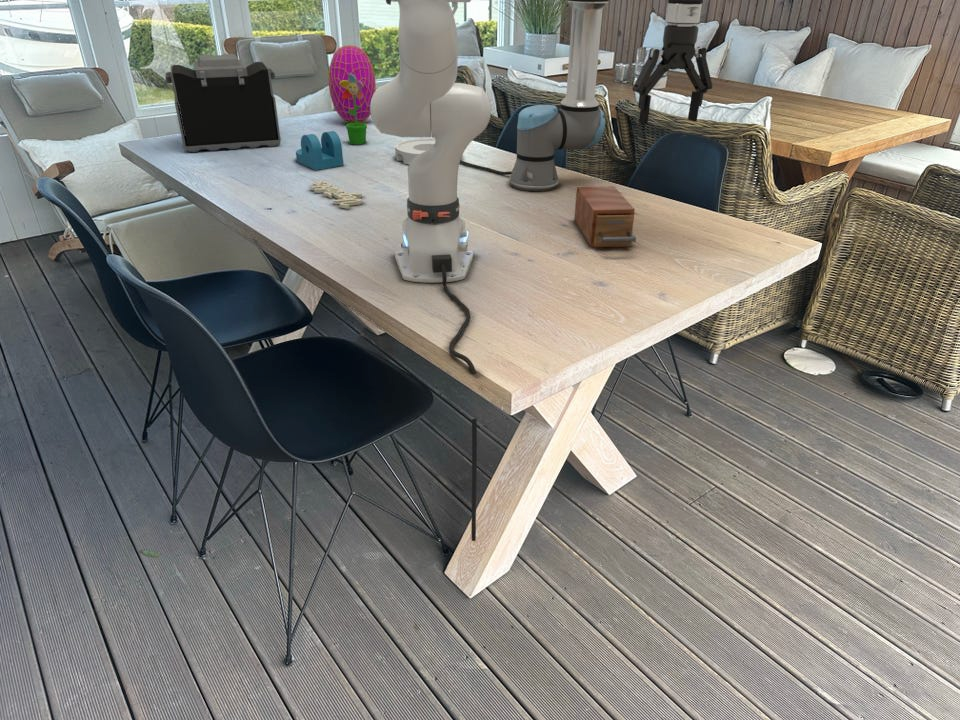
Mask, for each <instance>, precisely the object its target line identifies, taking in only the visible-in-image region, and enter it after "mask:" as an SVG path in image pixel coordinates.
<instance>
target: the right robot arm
mask: <svg viewBox="0 0 960 720" xmlns="http://www.w3.org/2000/svg"><path fill="white" fill-rule="evenodd" d="M703 1H704V0H667V7H666V12H665V13H666V14H665V19H664V21H665V23H667V24H666V25H665V26H664V30H663V35H662V36H663V37H662V48H661V49H659V48H654V47H651V48H650V49H649V51H648V56H647V60H646V61H645V63H644V65H643V66H642V68H641V71H640V72H639V74H638V77H637V79H636V80H635V82H634V84H633V86H632V89H631V90H632V92H635V93H637V94H638V95H639V96H638V104H637V107H638V110H640V111H639V117H638V123H639V124H642V125H644V126H645V125H646V126H647V125H648V123H649V116H650V110H651V109H650V108H651V99H652V95H651V94H650V93H651V91H652V90H653V89H654V87H655V86H657V84H658V83H659V82H660V81H661V79H662V78H663V77H664V75H665V74H666V73H668V71H670V70H674V71H675V70H684V71H685V73H686V75H687V77H688V79H689V80H690V82H691V84H692V86H693V88H694V90H693V91H691V97H690V102H689V109H688V115H687V120H688V121H691V122H697V121H698V116H699V111H700V107H701V106H702V105H703V101H704V95H705V94H706V93H708V90H712V88H713V81H712V77H711V73H710V69H709V65H708V61H707V51H708V49H707V47H703V46H696V47H695V45H696V44H697V41H698V37H699V36H698V35H699V34H698V33H699V26H698V24H700V22H701V14H702V7H703V3H704V2H703ZM609 2H610V0H567V3H568V5H569V6H570V7H571V10H572V11H571V24H570V37H569V50H568V51H569V52H568V65H567V66H568V67H567V81H566V93H565V97H564V98H563V99H562V100H561V101H560V106H559V107H560V109H558V107H557V106H556V105H553V104H537V105H531V106H527V107H525V108H523V109H522V110H521V111H519V113H518V119H517V125H516V129H517V133H516V159H515V162H514V165H513V168H512V171H511V170H510V171H500V170H497V169H494V168H491V167H486V166H482V165H478V164H474V163H470V162H467V161H465V160H462V159H461V160H460V163H459V164H461V165H464V166H467V167H472V168H473V169H479V170H483V171H487V172H490V173H494V174H496V175H497V174H498V175H502V176H508V175H510V177H509V185H510V187H512V188H513V189H515V190H516V189H517V190H519V191H525V192H548V191H551V190H552V191H553V190H554V189H557V188H558V186H559V176H558V171H557V167H556V163H555V151H559V150H560V151H561V150H573V149H574V150H575V149H580V150H583V149H587V148H593V147H595V146H596V145H598V143H599V142H600V141H601V139H602V137H603V135H604V132H605V127H606V118H605V113H604V111H603V110H602V108H600V103H599V101H598V100H597V99H596V86H597V76H598V65H599V56H600V55H599V54H600V53H599V52H600V43H601V33H602V21H603V20H602V19H603V12H604V11H603V10H604V8H605V7H606V6H607V5H608V4H609ZM694 57H695V63H696V67H697V70H698V71H697V70H696V67H695V64H694V63H693V61H692V59H693V58H694ZM659 59H661V60H660V61H659ZM658 61H659V63H658ZM657 63H658V64H657ZM655 67H656V68H655ZM654 69H655V70H654Z"/></svg>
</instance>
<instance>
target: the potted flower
mask: <svg viewBox="0 0 960 720" xmlns="http://www.w3.org/2000/svg"><path fill="white" fill-rule="evenodd" d="M348 78H349V81H346V80H342V81H341V82H340V83H339V84H340V85H341V86H342V87H343V88H346V89H347V90H345V91H344V93H343V94H342V97H341V99H348V98H350V97H351V96H352V95H353V100H354V110H349V111H348V112H349V114H351V115H355V123H349V122H348V123H347V124H346V125H345V128H346V131H347V136H348V141H349V144H352V145H363V144H366V143H367V129H368V124H367V123H366V122H365V123H364V122H361V123H357V116H356V110H358V109H359V106H356V103H355V95H356V97H357V98H358V99H359V100H362V98H363V93H362V92H361V91H360V90H361V89H363V84H362V82H361V81H358V82H357V83H356V78H355V76H354V75H352V74H350V73H348Z"/></svg>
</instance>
